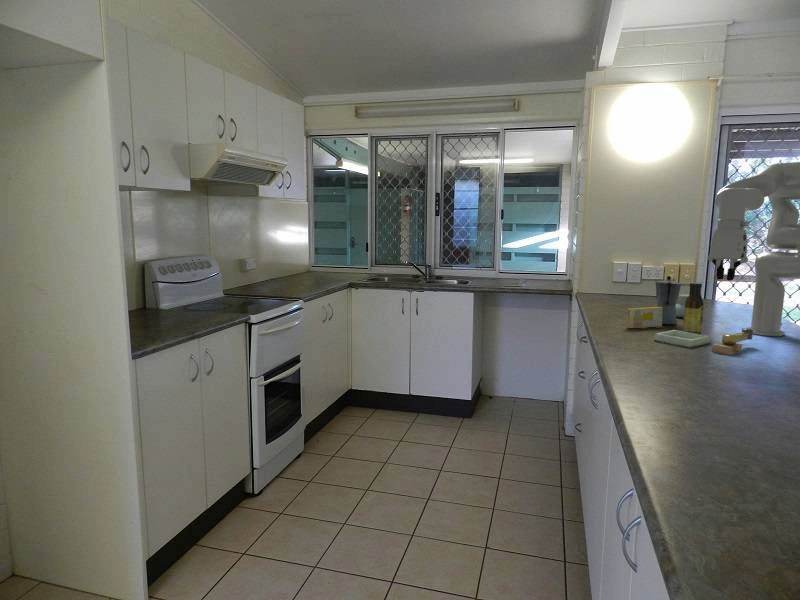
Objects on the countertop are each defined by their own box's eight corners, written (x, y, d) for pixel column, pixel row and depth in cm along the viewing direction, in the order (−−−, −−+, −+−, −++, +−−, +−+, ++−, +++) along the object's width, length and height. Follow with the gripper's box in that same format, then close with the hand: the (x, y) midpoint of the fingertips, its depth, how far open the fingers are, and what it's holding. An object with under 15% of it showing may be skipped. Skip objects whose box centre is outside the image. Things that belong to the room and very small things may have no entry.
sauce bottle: (703, 337, 201) (708, 284, 198) (685, 336, 203) (690, 283, 200) (697, 333, 208) (702, 282, 205) (680, 332, 209) (684, 281, 206)
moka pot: (675, 321, 233) (679, 275, 230) (680, 327, 219) (685, 278, 216) (651, 319, 236) (654, 274, 234) (655, 326, 222) (659, 277, 219)
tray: (673, 336, 202) (673, 329, 202) (709, 343, 192) (710, 336, 191) (654, 340, 195) (654, 333, 195) (690, 347, 184) (691, 340, 184)
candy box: (658, 326, 222) (659, 306, 221) (662, 327, 220) (663, 307, 219) (625, 328, 217) (627, 308, 216) (629, 329, 215) (631, 309, 214)
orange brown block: (723, 348, 184) (724, 340, 184) (741, 351, 179) (742, 344, 179) (711, 351, 179) (712, 343, 179) (729, 355, 175) (730, 347, 174)
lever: (732, 344, 177) (733, 335, 176) (719, 342, 180) (720, 333, 179) (754, 339, 186) (755, 329, 186) (742, 336, 189) (743, 327, 189)
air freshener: (680, 319, 239) (682, 296, 237) (667, 316, 247) (669, 294, 245) (701, 318, 241) (703, 296, 240) (687, 315, 249) (689, 293, 248)
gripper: (762, 225, 178) (755, 281, 181) (711, 225, 191) (706, 277, 194) (751, 225, 174) (745, 282, 176) (700, 225, 187) (695, 278, 189)
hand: (725, 279), depth 185 cm, fingers open, 2 cm apart
